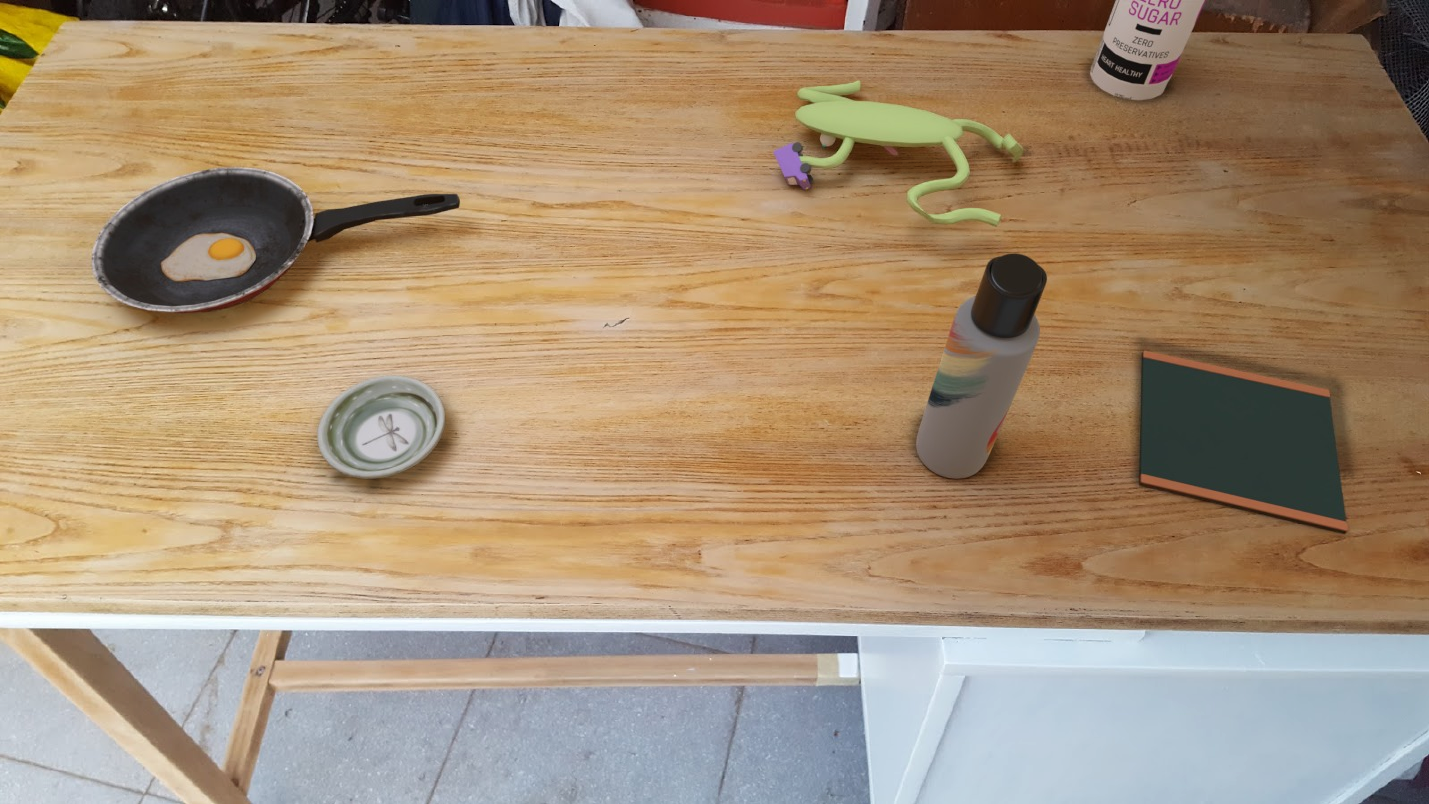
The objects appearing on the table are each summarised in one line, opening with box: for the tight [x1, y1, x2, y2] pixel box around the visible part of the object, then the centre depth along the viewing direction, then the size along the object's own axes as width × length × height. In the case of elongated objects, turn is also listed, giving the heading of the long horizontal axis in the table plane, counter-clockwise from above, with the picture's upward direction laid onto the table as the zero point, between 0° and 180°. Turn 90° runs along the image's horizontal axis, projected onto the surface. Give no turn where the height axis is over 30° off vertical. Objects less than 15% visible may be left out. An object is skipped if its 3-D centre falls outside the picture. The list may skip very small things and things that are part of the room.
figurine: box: [772, 79, 1024, 228], centre depth 94 cm, size 18×27×6 cm
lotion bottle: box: [915, 252, 1048, 480], centre depth 67 cm, size 6×6×20 cm
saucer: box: [316, 375, 446, 480], centre depth 74 cm, size 10×10×2 cm
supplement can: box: [1089, 0, 1207, 101], centre depth 100 cm, size 8×8×15 cm
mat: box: [1138, 350, 1349, 534], centre depth 76 cm, size 15×14×1 cm
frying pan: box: [90, 166, 461, 315], centre depth 87 cm, size 19×32×4 cm, turn 102°
